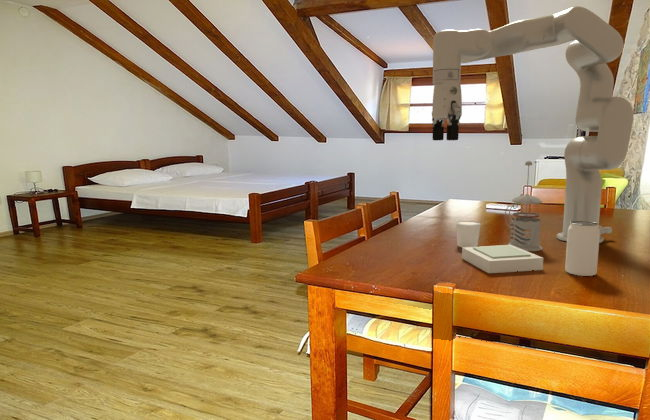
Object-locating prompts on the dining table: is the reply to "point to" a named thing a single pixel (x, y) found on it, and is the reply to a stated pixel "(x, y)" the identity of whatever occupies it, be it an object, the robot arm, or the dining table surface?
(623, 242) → the dining table surface
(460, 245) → the white cup
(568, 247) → the can
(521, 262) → the base
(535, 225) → the french press
